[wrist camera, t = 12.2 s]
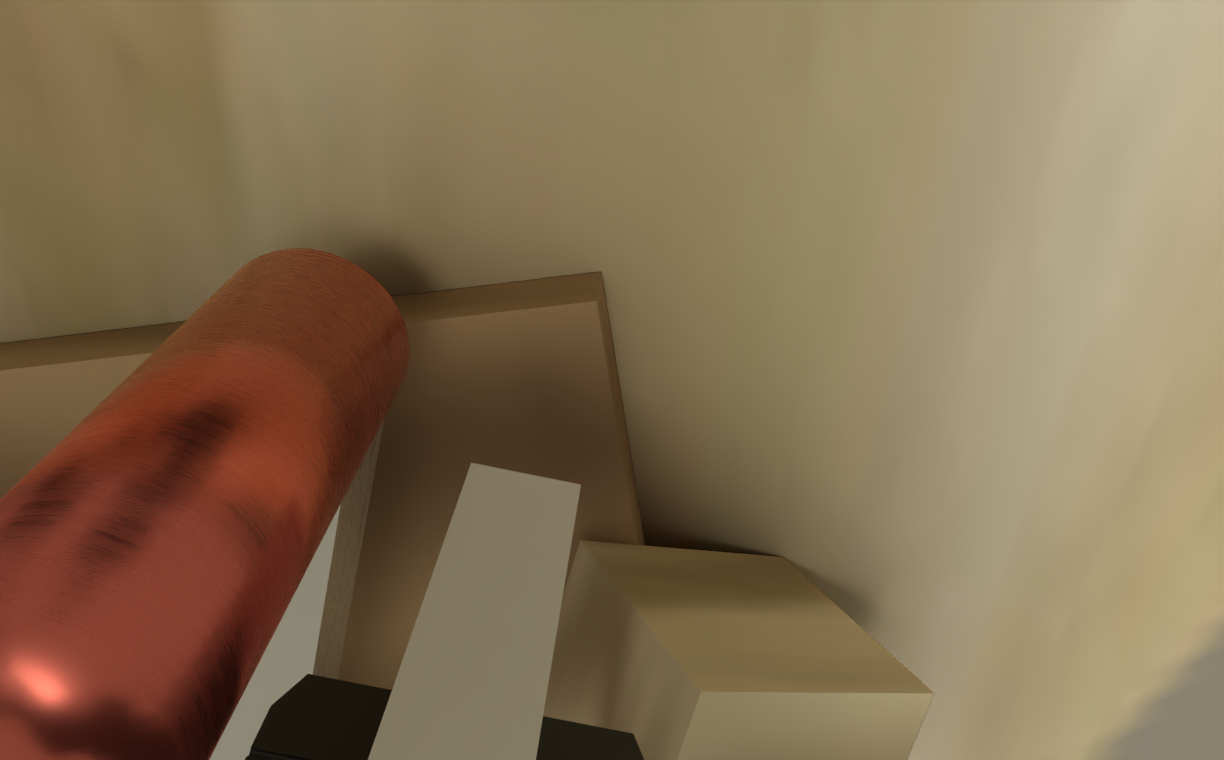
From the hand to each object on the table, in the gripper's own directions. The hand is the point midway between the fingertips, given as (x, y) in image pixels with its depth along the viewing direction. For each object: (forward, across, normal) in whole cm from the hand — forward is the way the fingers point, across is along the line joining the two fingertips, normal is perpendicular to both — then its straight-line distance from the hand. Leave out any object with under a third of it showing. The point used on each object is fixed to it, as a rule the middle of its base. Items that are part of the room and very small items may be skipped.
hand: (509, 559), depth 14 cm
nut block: (+6, +3, -6) cm, 10 cm away
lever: (+4, -4, -9) cm, 11 cm away
